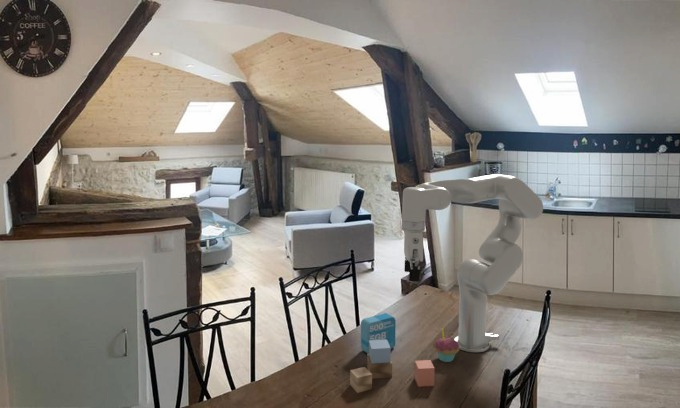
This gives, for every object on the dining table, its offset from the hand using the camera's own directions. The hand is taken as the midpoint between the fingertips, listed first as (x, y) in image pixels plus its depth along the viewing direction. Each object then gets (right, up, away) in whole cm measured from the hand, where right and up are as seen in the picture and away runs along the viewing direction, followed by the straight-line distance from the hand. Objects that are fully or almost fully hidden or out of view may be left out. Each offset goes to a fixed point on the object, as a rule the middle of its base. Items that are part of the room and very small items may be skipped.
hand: (411, 276), depth 164 cm
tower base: (-11, -31, -2) cm, 33 cm away
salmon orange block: (+3, -32, -8) cm, 33 cm away
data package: (-10, -28, +13) cm, 33 cm away
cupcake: (+13, -29, +6) cm, 32 cm away
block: (-17, -33, -11) cm, 38 cm away
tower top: (-11, -26, -3) cm, 28 cm away
